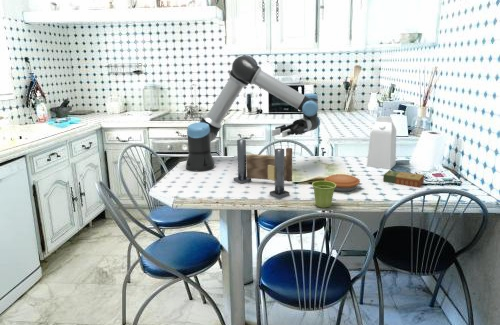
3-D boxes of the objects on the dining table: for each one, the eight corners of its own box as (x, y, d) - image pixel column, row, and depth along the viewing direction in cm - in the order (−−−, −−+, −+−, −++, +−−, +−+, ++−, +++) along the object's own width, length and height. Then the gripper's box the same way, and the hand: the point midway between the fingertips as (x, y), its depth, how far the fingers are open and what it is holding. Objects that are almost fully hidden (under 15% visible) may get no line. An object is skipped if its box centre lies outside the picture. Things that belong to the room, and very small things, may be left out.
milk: (395, 164, 218) (399, 115, 211) (389, 169, 209) (393, 119, 202) (373, 161, 224) (375, 114, 218) (366, 166, 215) (369, 117, 208)
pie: (353, 195, 172) (353, 184, 171) (318, 190, 180) (319, 179, 179) (364, 185, 185) (364, 175, 183) (331, 180, 193) (331, 170, 191)
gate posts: (233, 181, 195) (232, 140, 189) (243, 178, 198) (242, 138, 193) (278, 198, 170) (278, 152, 165) (289, 195, 173) (289, 149, 168)
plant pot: (336, 202, 165) (337, 181, 162) (333, 210, 156) (334, 189, 154) (313, 200, 168) (314, 179, 165) (309, 208, 159) (309, 187, 157)
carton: (418, 188, 180) (419, 179, 179) (382, 182, 189) (383, 173, 188) (423, 183, 187) (424, 174, 186) (388, 178, 196) (388, 169, 195)
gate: (246, 178, 192) (245, 147, 188) (248, 176, 194) (247, 146, 190) (291, 181, 185) (291, 149, 182) (292, 179, 188) (292, 148, 184)
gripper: (317, 135, 206) (294, 143, 187) (286, 131, 216) (261, 139, 197) (317, 120, 204) (294, 127, 185) (286, 117, 214) (261, 124, 195)
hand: (277, 133), depth 191 cm, fingers open, 5 cm apart
